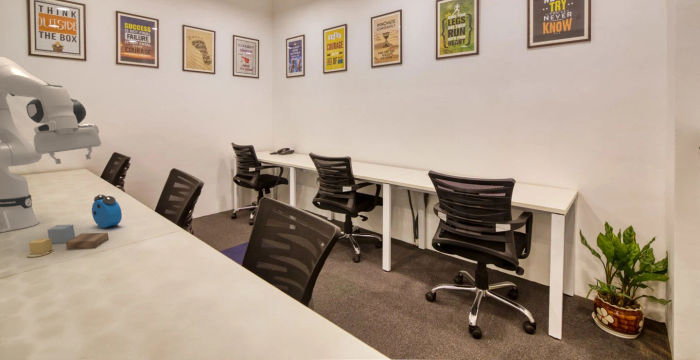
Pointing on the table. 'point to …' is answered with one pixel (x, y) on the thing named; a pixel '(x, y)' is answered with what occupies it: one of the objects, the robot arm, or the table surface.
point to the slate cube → (61, 233)
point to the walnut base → (87, 241)
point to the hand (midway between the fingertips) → (74, 161)
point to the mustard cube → (40, 246)
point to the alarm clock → (106, 211)
